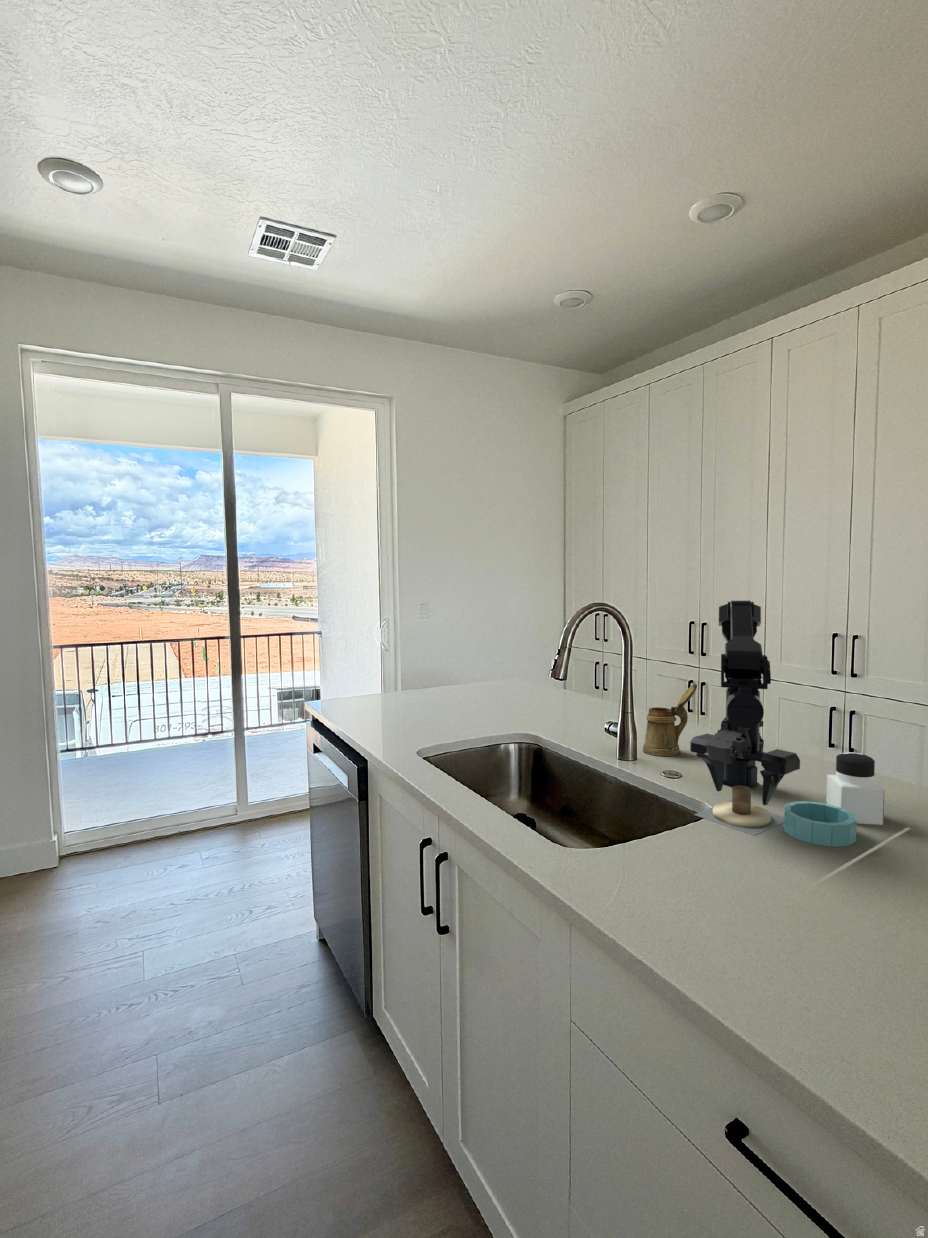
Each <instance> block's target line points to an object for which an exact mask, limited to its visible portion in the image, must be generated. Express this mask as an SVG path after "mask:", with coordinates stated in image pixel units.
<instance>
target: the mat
mask: <svg viewBox="0 0 928 1238" xmlns="http://www.w3.org/2000/svg"><path fill="white" fill-rule="evenodd" d="M727 802H732V800H728V801H727ZM769 813H770V814H771V823H770V824H769V825H767V826H764V827H756V828H749V827H739V826H734V825H730V824H727V823H724V822H722V821H719V820H718V819H716V818H715V817H714V816H713V806H712V807H710V808H707V809H705V810H703V811H700V812H697V813H695V814H693V816H696V817H699V818H702V819H704V820H708V821H710V822H714V823H716V824H718V825H722V826H725V827H728V828H731V829H734V830H736V831H739V832H742V833H745V834H747V835H751V836H754V837H756V836H758V835H760V834H762V833H764V832H766V831H768V830H771V829H772V828H775V827H777V826H779V825H781V824H782V825H783V824H784V816H780V815H778V814H774V813H771V812H769Z"/></svg>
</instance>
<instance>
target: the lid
mask: <svg viewBox="0 0 928 1238" xmlns="http://www.w3.org/2000/svg"><path fill="white" fill-rule="evenodd" d="M731 801H732V802H728V801H726V802H724V801H723V802H719V803H717V804H714V805H713V806H712V807H713V816H714V817H715V818H716V819H718V820H719V821H722V822H724V823H727V824H730V825H734V826H739V827H749V828H756V827H764V826H767V825H769V824H770V823H771V814H772V813H771V812H770V811H769V810H768V809H765V808H763V807H761V806H758V805H755V804H752V788H749V787H747V786H741V785H736V786H733V787H731ZM770 813H771V814H770Z"/></svg>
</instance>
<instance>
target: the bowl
mask: <svg viewBox="0 0 928 1238" xmlns="http://www.w3.org/2000/svg"><path fill="white" fill-rule="evenodd" d="M783 817H784V823H783V832H785V833H786V834H788V835H789V836H791V837H792V838H794V839H796V840H800V841H803V842H806V843H808V844H812V845H819V846H824V847H831V848H832V847H848V846H850V845H853V844H854V843H856V842H857V824H858V823H857V820H856V818H855V815H854V814H853V813H851V812H849V811H847V810H845V809H843V808H840V807H837V806H833V805H829V804H826V803H824V802H817V801H811V800H810V801H807V800H804V801H803V800H802V801H791V802H789V803H786V804H784V805H783Z"/></svg>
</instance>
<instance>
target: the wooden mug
mask: <svg viewBox="0 0 928 1238" xmlns="http://www.w3.org/2000/svg"><path fill="white" fill-rule="evenodd" d="M697 689H698V685H697V684H693V685H692V686H690V687H688V688H687V689H686V690H685V692H684V693H683V694H682V696H681V697H680V699H679V700H678V704H677V705H673V706H671V707H670V708H667V707H662V706H661V707H658V706H657V707H649V708H648V712H647V715H646V721H647V723H646V731H645V737H644V738H645V739H644V743H643V747H642V751H643V753H645V752H646V753H645V754H648V755H651V756H657V757H671V756H676V755H678V754H679V753H680V750H681V749H680V746H679V739H680V736H681V734H682V733H683V730H684V729H685V727H686V725H687V724H688V712H687V710H686V709H685V707H684V706H685V705H686V704H687V703H689V701H690V700H691V698H692V697H693V696H694V694H695V693H696V691H697ZM676 716H677V717H678V718H679V719H680V722H679V723H678V724H677V725H676V724H675V722H676V721H677V717H676Z"/></svg>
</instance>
